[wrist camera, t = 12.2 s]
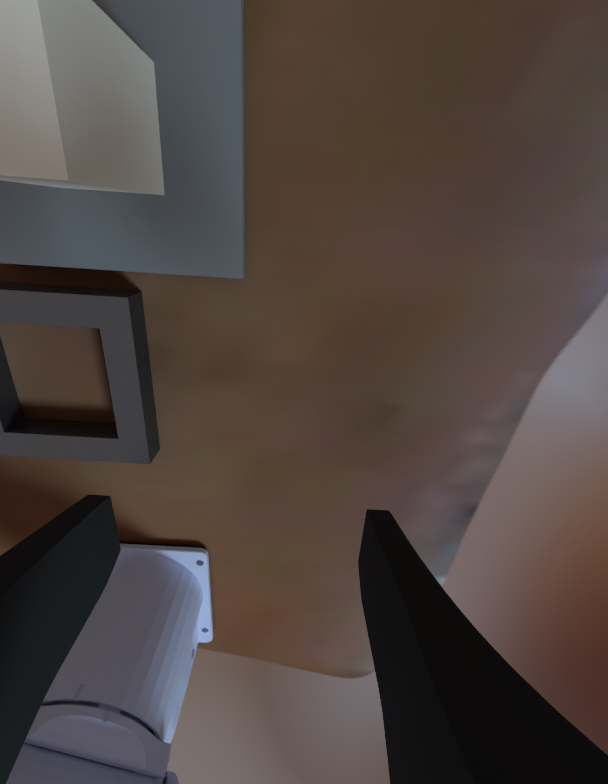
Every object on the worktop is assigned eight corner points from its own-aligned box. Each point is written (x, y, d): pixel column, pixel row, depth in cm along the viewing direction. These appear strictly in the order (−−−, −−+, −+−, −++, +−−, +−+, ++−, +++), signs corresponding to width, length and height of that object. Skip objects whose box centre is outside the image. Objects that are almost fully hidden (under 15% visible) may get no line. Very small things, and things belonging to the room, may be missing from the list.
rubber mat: (244, 277, 18) (242, 278, 17) (10, 261, 18) (0, 263, 17) (243, -48, 13) (240, -60, 13) (-75, -73, 13) (-92, -86, 12)
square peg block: (164, 195, 16) (68, 180, 10) (59, 187, 16) (-109, 167, 9) (153, 62, 14) (25, -67, 8) (34, 52, 14) (-195, -85, 8)
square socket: (159, 448, 22) (150, 463, 21) (4, 439, 22) (-17, 454, 20) (141, 291, 18) (127, 297, 17) (-48, 279, 18) (-77, 284, 17)
